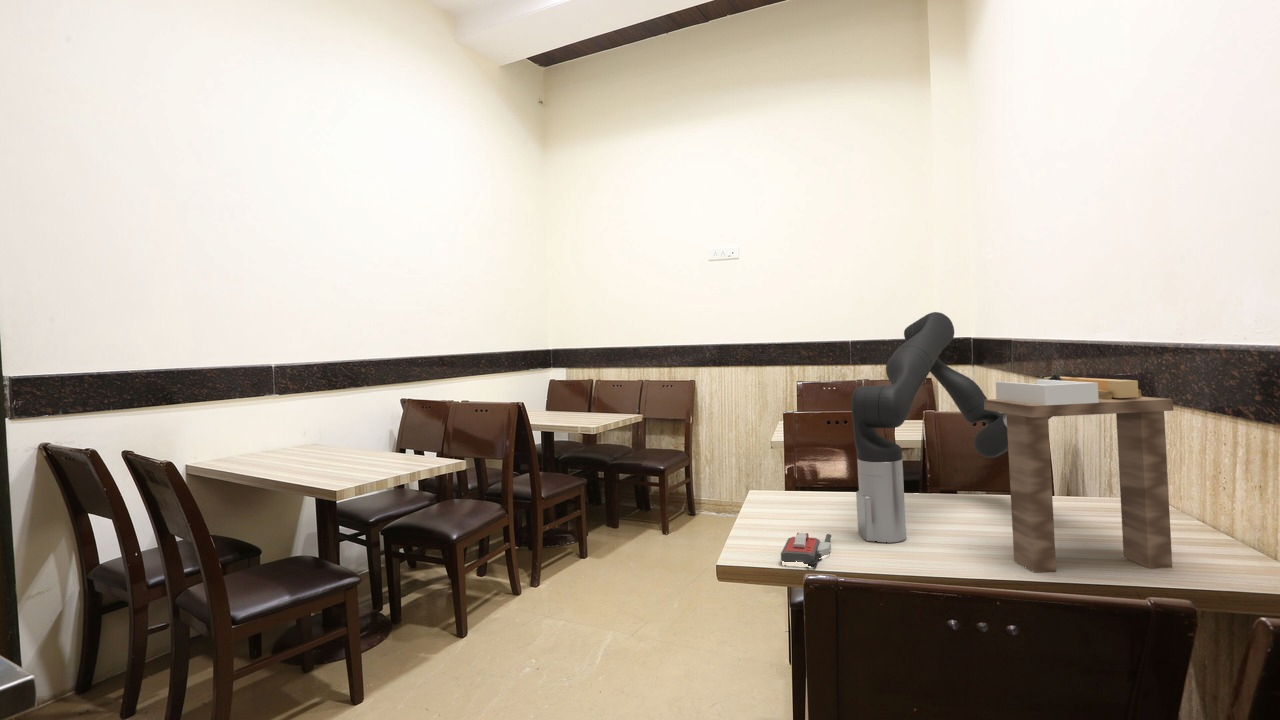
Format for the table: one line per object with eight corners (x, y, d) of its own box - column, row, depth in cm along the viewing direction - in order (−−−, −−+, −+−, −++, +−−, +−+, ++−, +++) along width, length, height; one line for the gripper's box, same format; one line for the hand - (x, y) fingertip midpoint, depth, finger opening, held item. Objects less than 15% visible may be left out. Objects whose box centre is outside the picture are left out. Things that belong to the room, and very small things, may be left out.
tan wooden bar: (1119, 398, 109) (1119, 381, 109) (1044, 391, 131) (1043, 377, 131) (1138, 397, 109) (1137, 380, 109) (1059, 390, 131) (1059, 376, 131)
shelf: (1040, 576, 107) (1030, 397, 107) (991, 548, 123) (983, 392, 123) (1181, 571, 106) (1172, 390, 106) (1114, 543, 122) (1106, 386, 122)
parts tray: (1045, 405, 107) (1044, 385, 107) (996, 399, 123) (995, 381, 123) (1098, 402, 106) (1097, 382, 106) (1042, 396, 122) (1041, 379, 122)
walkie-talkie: (826, 573, 115) (834, 542, 134) (824, 550, 115) (833, 521, 134) (779, 570, 118) (793, 539, 137) (777, 547, 118) (792, 520, 137)
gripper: (991, 399, 143) (1027, 363, 128) (1053, 396, 142) (1096, 360, 127) (1001, 429, 139) (1039, 395, 124) (1065, 426, 138) (1111, 392, 123)
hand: (1068, 378), depth 126 cm, fingers closed on tan wooden bar, 3 cm apart
